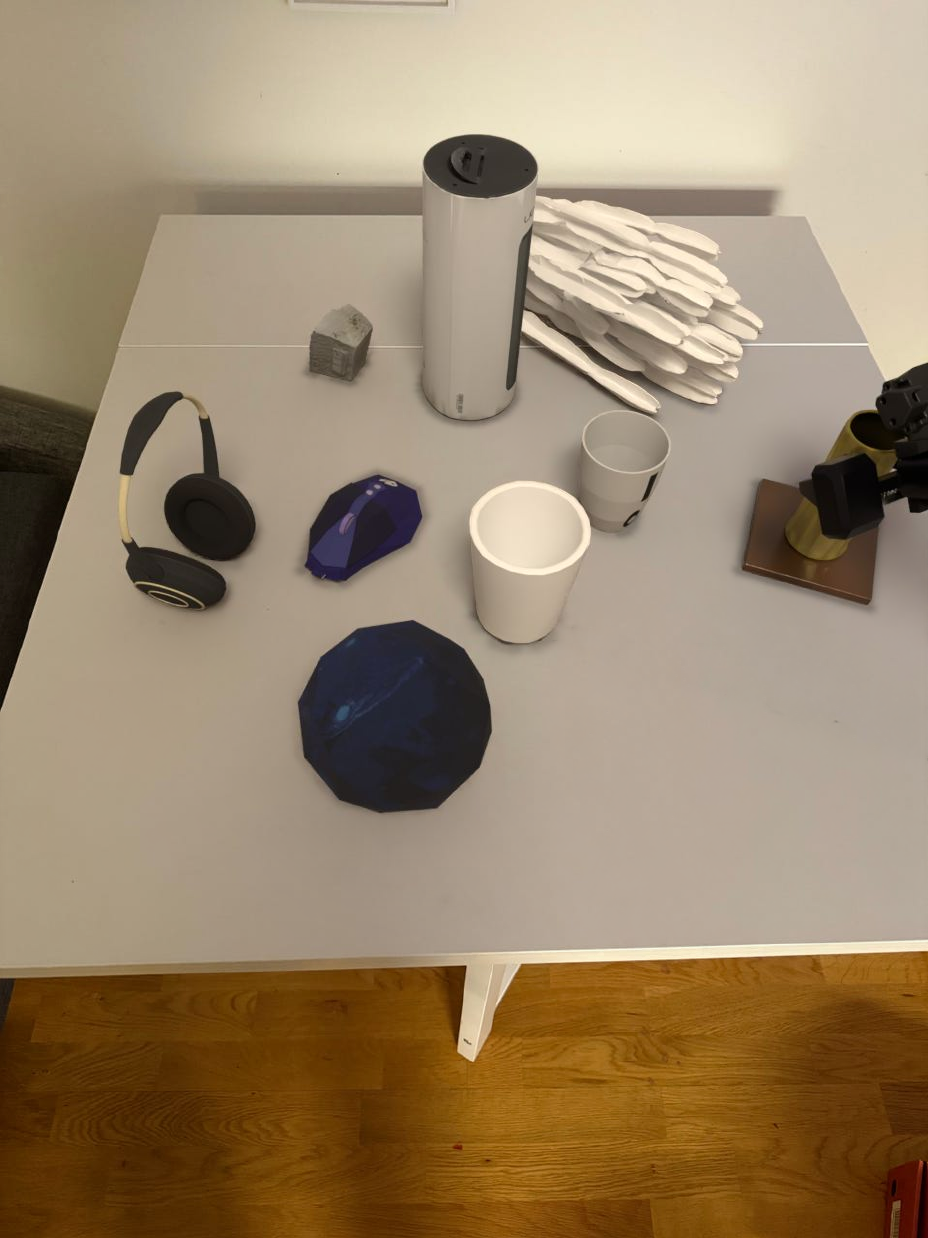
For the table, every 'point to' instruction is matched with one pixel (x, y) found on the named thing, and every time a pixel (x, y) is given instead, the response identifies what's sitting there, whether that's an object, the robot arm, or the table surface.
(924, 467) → the robot arm
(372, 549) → the computer mouse
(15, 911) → the table surface
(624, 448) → the cup
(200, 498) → the headphones
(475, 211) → the speaker
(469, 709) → the decorative orb
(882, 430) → the vase
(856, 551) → the serving board
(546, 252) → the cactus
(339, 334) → the grey stone block
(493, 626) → the cup
